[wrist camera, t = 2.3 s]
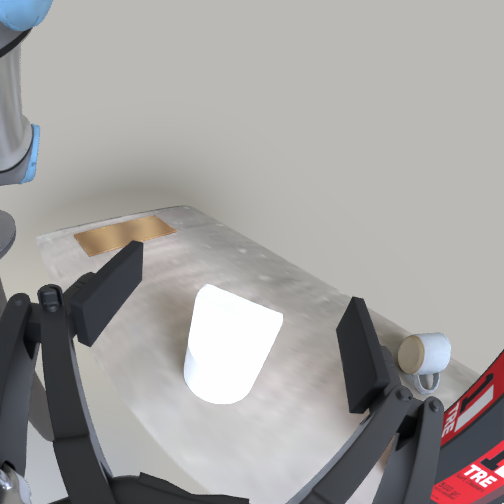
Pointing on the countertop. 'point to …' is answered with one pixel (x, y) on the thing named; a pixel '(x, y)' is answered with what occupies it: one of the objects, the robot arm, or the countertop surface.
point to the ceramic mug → (424, 357)
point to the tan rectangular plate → (122, 234)
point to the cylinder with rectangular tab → (227, 344)
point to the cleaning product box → (473, 444)
